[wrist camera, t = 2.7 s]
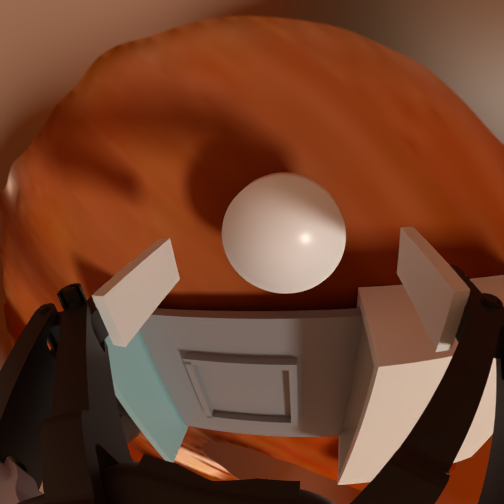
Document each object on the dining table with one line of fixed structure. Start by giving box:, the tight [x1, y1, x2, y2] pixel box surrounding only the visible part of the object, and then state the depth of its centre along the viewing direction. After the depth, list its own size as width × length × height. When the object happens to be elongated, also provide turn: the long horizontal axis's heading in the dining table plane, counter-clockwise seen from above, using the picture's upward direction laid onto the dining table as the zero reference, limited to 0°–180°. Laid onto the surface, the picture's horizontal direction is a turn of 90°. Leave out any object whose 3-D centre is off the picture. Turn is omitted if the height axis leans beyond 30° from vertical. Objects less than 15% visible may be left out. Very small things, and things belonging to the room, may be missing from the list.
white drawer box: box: [338, 275, 504, 485], centre depth 22 cm, size 20×24×10 cm
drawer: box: [105, 308, 362, 462], centre depth 27 cm, size 24×24×9 cm
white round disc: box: [222, 172, 346, 294], centre depth 19 cm, size 8×8×2 cm
